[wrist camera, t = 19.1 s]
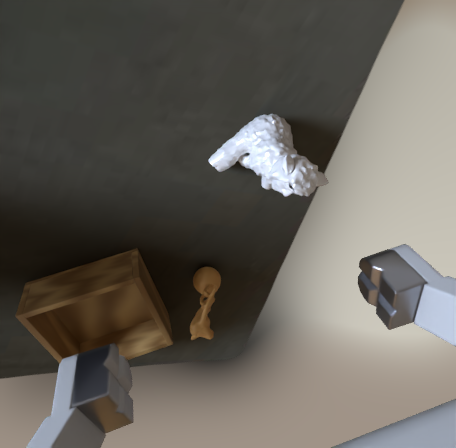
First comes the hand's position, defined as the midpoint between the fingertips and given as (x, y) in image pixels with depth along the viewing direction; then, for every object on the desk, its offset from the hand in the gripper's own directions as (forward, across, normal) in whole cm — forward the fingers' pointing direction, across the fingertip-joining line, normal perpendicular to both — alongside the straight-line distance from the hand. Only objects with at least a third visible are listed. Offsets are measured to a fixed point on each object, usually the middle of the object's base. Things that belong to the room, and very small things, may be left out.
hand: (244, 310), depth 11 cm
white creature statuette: (+29, -9, +9) cm, 32 cm away
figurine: (+29, +2, +26) cm, 39 cm away
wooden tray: (+29, +16, +26) cm, 42 cm away
